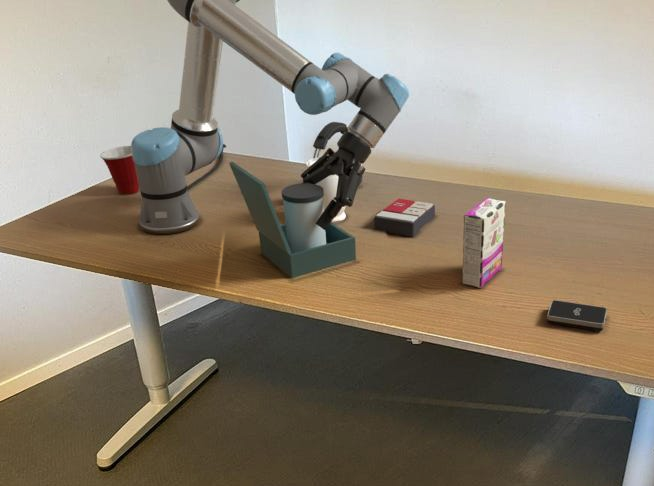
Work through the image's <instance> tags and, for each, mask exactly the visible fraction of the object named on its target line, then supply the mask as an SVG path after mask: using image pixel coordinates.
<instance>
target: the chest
mask: <svg viewBox="0 0 654 486" xmlns="http://www.w3.org/2000/svg"><path fill="white" fill-rule="evenodd" d="M280 225H281V227H282V230H283V233H284V235H285V238H286V240H287V233H286V223H283V224H280ZM325 232H326V244H325V245H321V246H317V247H314V248H310V249H307V250H303V251H299V252H296V253H290V254H287V253H286V252H285V251H283V250H282V249H281V248H280V247H278V246H277V245H276V244H274V243H273V242H272V241H271V240H269V239H268V238H267V237H266V236H264V235H263V234H262V233H261V232H259V231H258V237H259V245H260V252H261V254H262V255H263V256H265V257H266V258H267V259H269V260H270V261H271V262H272V263H273V264H274V265H276V266H277V267H278V268H279V269H281V271H282V272H284V273H285V274H286V275H288V276H289V278H291V279H295V278H298V277H302V276H306V275H308V274H312V273H316V272H320V271H323V270H325V269H329V268H333V267H336V266H340V265H344V264H346V263H350V262H353V261H356V260H357V251H356V250H357V249H356V237H355V236H353V235H352V234H351V233H349V232H347V231H346V230H344V229H343V228H342V227H340V226H338V225H337V224H335V223H334V222H333V221H332V222H331V223H330V224H329V226H328V227H327V229H326V230H325Z"/></svg>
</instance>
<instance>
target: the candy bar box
mask: <svg viewBox="0 0 654 486" xmlns="http://www.w3.org/2000/svg"><path fill="white" fill-rule="evenodd" d="M506 202H507V201H506V200H502V199H496V198H492V197H485V198H484V199H482V201H480V202H478V204H476V205H475V206H474V207H472V208H471V209H470V210H468V211H467V212H466V213H464V215H463V238H462V239H463V242H462V245H463V246H462V247H463V248H462V275H461V277H462V278H461V279H462V281H461V283H462V284H463V285H466V286H469V287H473V288H474V287H475V288H478V289H482V288H483V287H484V286H485V285H487V284H488V282H489V281H490V280H491V279H492V278H493V277H495V275H496V274H498V273H499V272H500V271H501V270H503V269H502V268H503V250H504V235H505V220H506V219H505V218H506V205H507V204H506Z"/></svg>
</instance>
